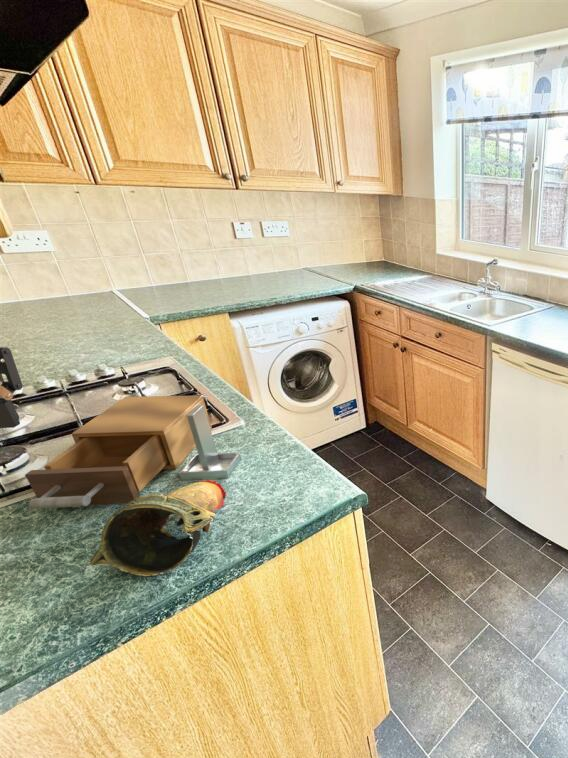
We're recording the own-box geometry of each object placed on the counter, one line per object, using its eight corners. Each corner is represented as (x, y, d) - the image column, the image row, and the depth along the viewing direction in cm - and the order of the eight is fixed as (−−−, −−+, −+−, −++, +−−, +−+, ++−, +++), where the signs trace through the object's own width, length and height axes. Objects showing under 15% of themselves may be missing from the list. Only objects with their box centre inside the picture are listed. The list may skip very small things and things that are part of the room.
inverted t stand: (181, 480, 78) (160, 418, 72) (197, 461, 83) (179, 402, 78) (228, 478, 79) (211, 417, 74) (241, 459, 84) (226, 401, 79)
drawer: (116, 523, 66) (101, 489, 63) (16, 530, 64) (-5, 495, 61) (179, 456, 83) (169, 427, 80) (101, 459, 80) (88, 429, 77)
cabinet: (176, 468, 81) (163, 430, 77) (88, 472, 78) (70, 433, 74) (212, 429, 94) (202, 395, 90) (138, 431, 91) (125, 396, 87)
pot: (248, 449, 73) (181, 487, 55) (274, 507, 74) (218, 562, 57) (147, 484, 71) (45, 535, 53) (176, 542, 73) (87, 610, 55)
